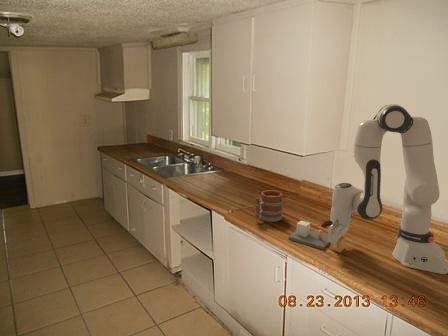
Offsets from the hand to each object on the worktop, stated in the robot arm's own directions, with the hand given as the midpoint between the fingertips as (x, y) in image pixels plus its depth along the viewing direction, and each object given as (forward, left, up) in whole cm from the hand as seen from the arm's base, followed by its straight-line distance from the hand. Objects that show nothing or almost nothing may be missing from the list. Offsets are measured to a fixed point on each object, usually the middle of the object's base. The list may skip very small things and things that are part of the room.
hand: (337, 244), depth 159 cm
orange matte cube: (0, 0, -2) cm, 2 cm away
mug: (+45, -12, -2) cm, 47 cm away
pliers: (+9, -29, -3) cm, 30 cm away
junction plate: (+14, -2, -2) cm, 14 cm away
